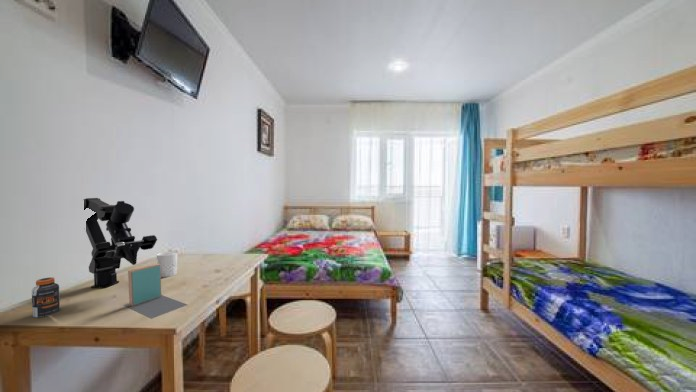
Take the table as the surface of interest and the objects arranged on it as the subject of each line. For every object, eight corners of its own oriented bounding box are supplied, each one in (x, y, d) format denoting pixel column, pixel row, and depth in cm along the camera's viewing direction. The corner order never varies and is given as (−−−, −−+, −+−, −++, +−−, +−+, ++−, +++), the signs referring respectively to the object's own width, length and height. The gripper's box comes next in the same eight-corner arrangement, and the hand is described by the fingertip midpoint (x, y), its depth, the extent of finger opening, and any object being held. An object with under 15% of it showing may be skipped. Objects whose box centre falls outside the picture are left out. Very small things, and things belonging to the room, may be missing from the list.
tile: (129, 305, 93) (128, 270, 93) (158, 295, 101) (157, 263, 100) (132, 306, 92) (131, 271, 92) (161, 297, 100) (160, 264, 99)
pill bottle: (35, 319, 84) (33, 283, 84) (30, 315, 88) (28, 280, 87) (62, 312, 89) (60, 277, 89) (57, 307, 93) (55, 274, 92)
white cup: (182, 273, 128) (181, 252, 128) (166, 278, 121) (165, 256, 120) (169, 271, 131) (169, 250, 130) (153, 276, 123) (152, 254, 123)
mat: (123, 306, 93) (123, 305, 93) (158, 294, 103) (158, 293, 103) (151, 319, 84) (151, 318, 84) (187, 305, 93) (187, 304, 93)
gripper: (141, 240, 116) (155, 270, 111) (81, 250, 100) (95, 285, 95) (149, 223, 112) (165, 253, 107) (89, 229, 96) (104, 265, 90)
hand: (134, 264), depth 100 cm, fingers closed
